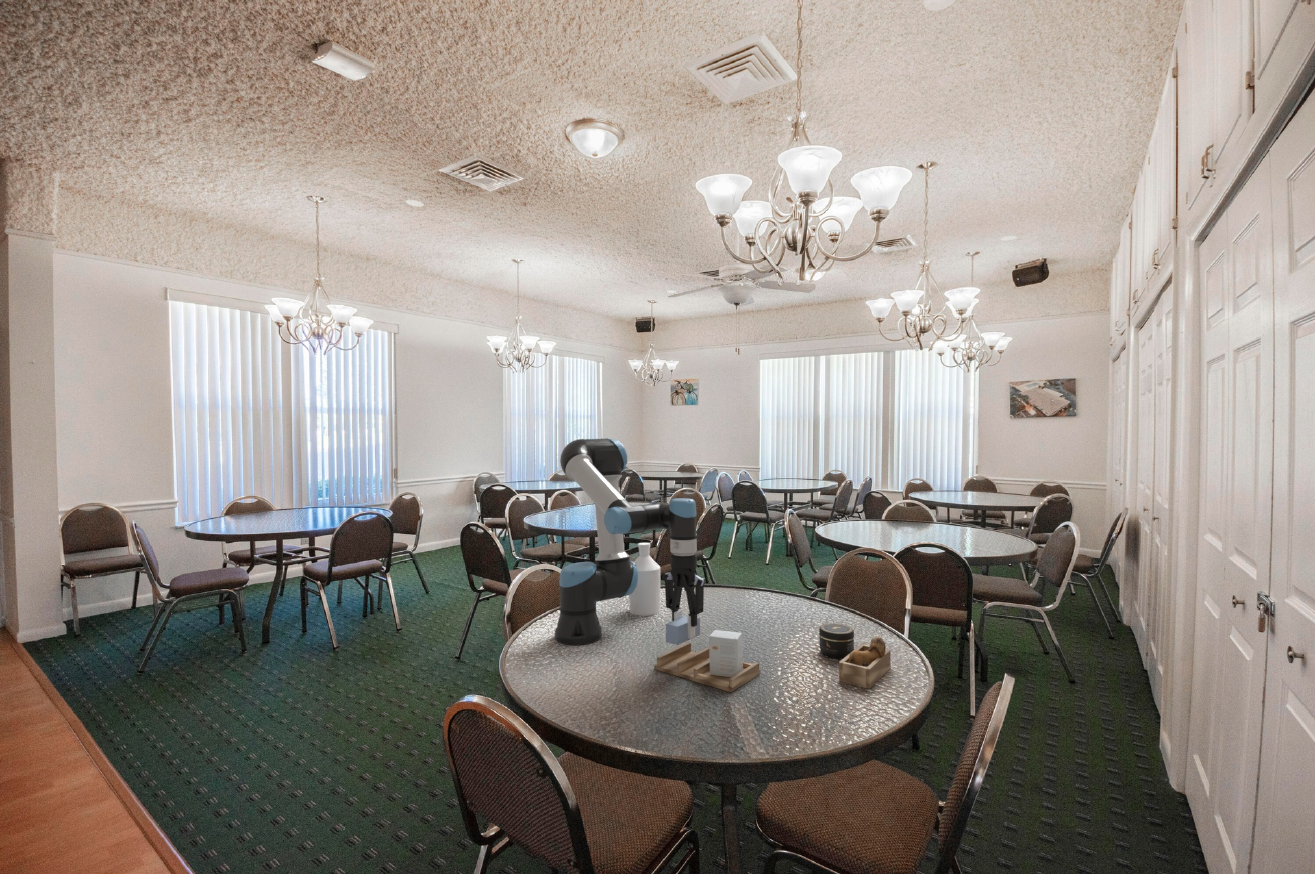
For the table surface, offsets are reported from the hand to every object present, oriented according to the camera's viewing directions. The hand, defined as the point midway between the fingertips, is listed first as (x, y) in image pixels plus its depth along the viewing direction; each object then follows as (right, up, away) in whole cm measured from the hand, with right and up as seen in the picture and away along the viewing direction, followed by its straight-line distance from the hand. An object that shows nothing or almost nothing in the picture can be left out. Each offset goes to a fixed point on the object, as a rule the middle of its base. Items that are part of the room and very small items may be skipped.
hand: (684, 635), depth 167 cm
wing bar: (0, -1, -1) cm, 1 cm away
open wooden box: (+49, -8, -8) cm, 50 cm away
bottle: (-12, -9, +52) cm, 54 cm away
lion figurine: (+49, -8, -8) cm, 50 cm away
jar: (+45, -8, +8) cm, 47 cm away
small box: (+11, -7, -8) cm, 16 cm away
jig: (+6, -8, -4) cm, 11 cm away
